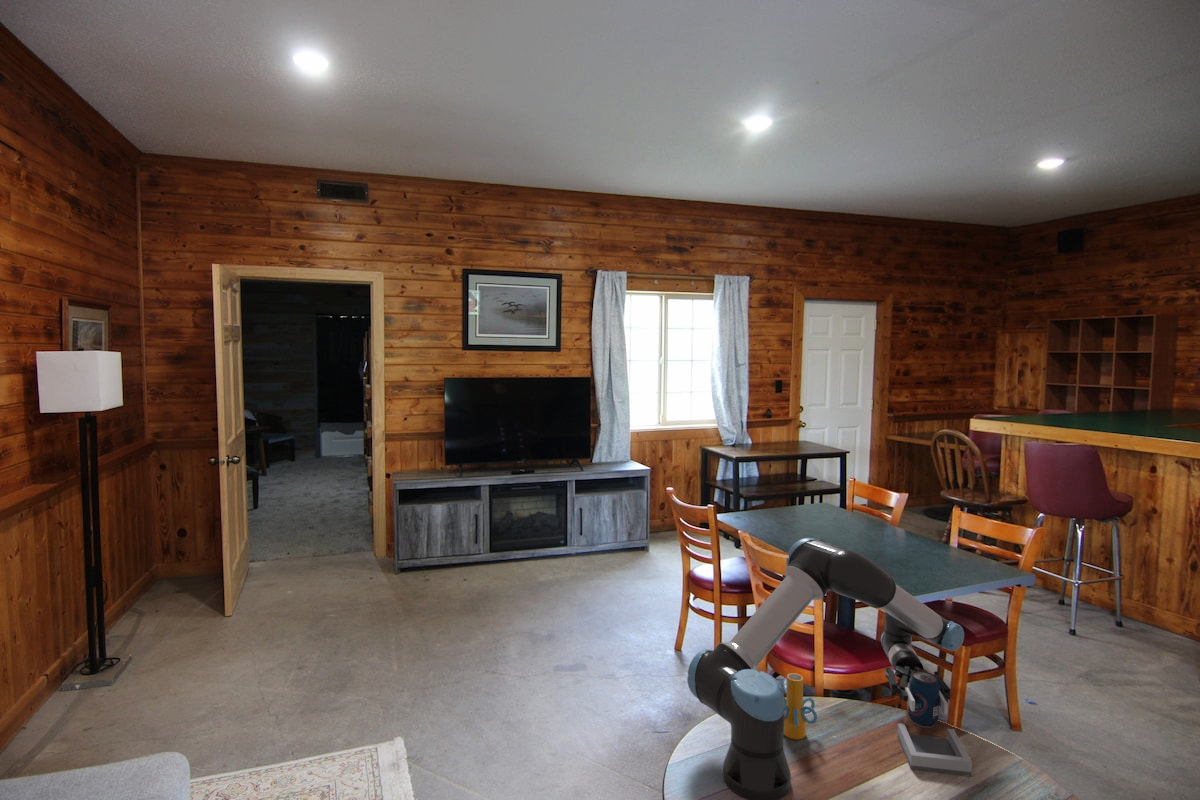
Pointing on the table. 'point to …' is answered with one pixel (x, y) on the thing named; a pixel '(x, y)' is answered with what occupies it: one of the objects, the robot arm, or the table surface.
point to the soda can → (924, 698)
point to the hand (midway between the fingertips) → (929, 707)
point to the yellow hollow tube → (796, 708)
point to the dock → (935, 752)
